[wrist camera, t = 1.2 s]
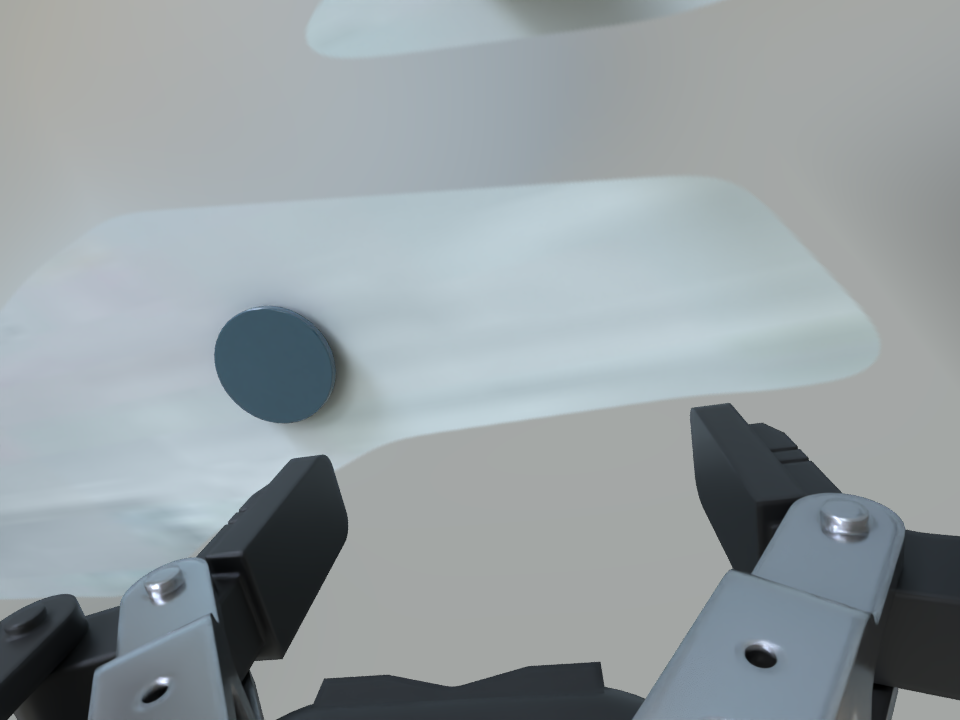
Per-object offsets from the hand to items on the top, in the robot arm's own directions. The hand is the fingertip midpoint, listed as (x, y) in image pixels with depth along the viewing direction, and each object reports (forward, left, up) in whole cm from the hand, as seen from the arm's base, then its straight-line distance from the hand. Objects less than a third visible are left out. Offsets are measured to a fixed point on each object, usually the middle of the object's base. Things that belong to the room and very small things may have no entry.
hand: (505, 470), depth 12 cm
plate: (+7, -13, -18) cm, 24 cm away
